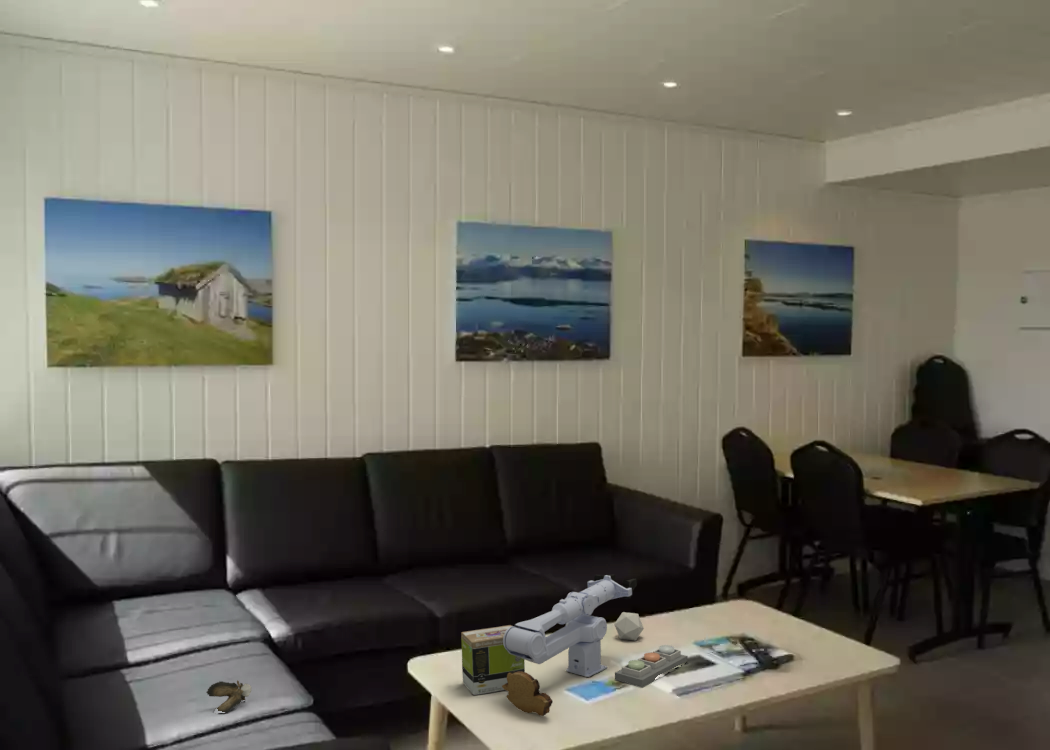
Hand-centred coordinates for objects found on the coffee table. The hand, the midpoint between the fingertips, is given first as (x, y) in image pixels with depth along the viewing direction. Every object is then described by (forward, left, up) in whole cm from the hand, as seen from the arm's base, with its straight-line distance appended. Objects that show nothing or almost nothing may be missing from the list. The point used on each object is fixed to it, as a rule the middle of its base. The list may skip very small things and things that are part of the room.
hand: (625, 580), depth 277 cm
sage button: (-17, -15, -19) cm, 29 cm away
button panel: (-9, -15, -22) cm, 28 cm away
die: (+11, +6, -22) cm, 25 cm away
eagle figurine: (-98, +57, -22) cm, 116 cm away
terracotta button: (-9, -15, -19) cm, 26 cm away
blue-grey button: (-1, -15, -19) cm, 24 cm away
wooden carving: (-52, -5, -22) cm, 57 cm away
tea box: (-45, +13, -22) cm, 52 cm away
